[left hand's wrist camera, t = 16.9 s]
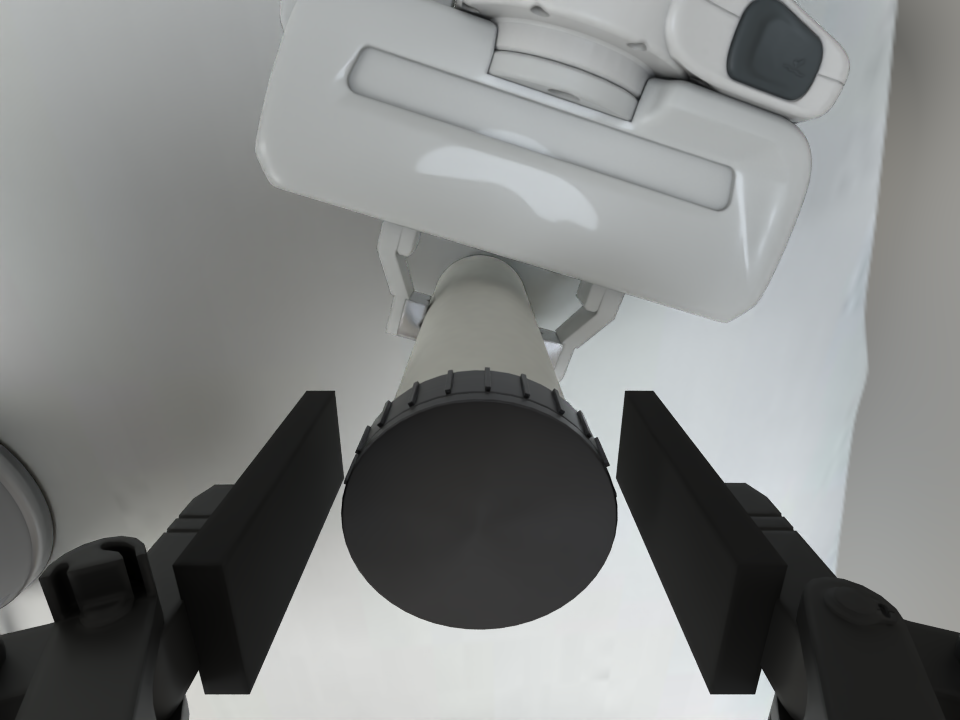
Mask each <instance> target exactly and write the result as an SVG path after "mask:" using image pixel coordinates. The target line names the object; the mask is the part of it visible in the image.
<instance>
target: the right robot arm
mask: <svg viewBox="0 0 960 720" xmlns="http://www.w3.org/2000/svg"><path fill="white" fill-rule="evenodd" d="M454 4H455V0H280V22H281V26H282V30H283V33H284V34H283V37H282V39H281V42H280V46H279V49H278V52H277V55H276V58H275V61H274V65H273V68H272V72H271V75H270V79H269V82H268V86H267V90H266V94H265V98H264V103H263V107H262V111H261V116H260V121H259V126H258V131H257V137H256V143H255V153H256V157H257V159H258V161H259V163H260V165H261V167H262V169H263V171H264V173H265V175H266V177H267V179H268V181H269V182H270V184H271V185H272V186H274V187H276V188H279V189H282V190H285V191H288V192H292V193H295V194H298V195H301V196H305V197H308V198H311V199H315V200H318V201H321V202H325V203H328V204H331V205H334V206H338V207H341V208H344V209H348V210H351V211H354V212H358V213H361V214H364V215H368V216H371V217H374V218H377V219H381V220H383V222H382V227H381V231H380V235H379V240H378V244H377V251H378V254H379V258H380V261H381V264H382V267H383V270H384V274H385V277H386V280H387V283H388V286H389V290H390V293H391V295H394V298H393V302H392V306H391V310H390V314H389V318H388V322H387V326H386V333H388V334H391V335H394V336H399V337H403V338H407V339H411V340H414V341H416V339H417V336H418V334H419V331H420V328H421V326H422V323H423V320H424V318H425V316H426V313H427V310H428V307H429V304H430V300H431V296H430V295H426V294H423V293H420V292H417V291H414V286H413V283H412V279H411V275H410V271H409V268H408V264H407V260H406V257H409V256H410V255H411V254H412V253H413V252H414V251H415V249H416V248H417V246H418V242H419V238H420V234H421V232H424V233H427V234H430V235H434V236H437V237H440V238H443V239H447V240H450V241H453V242H457V243H460V244H463V245H467V246H470V247H473V248H476V249H480V250H483V251H486V252H490V253H493V254H496V255H500V256H503V257H506V258H510V259H513V260H516V261H519V262H523V263H526V264H529V265H533V266H536V267H539V268H543V269H546V270H549V271H552V272H556V273H559V274H562V275H566V276H569V277H572V278H576V279H579V280H581V282H580V285H579V288H578V290H577V293H576V296H577V298H578V300H579V301H580V302H581V304H582V305H583V306H582V307H581V308H580V309H579V310H577V311H576V312H575V313H574V314H573V315H572V316H571V317H570V318H569V319H567V320H566V321H565V322H564V323H563V324H562V325H561V326H560V327H559V328H557V329H556V330H555V331H556V332H555V331H551V330H547V329H543V328H540V327H539V330H540V333H541V335H542V338H543V341H544V344H545V346H546V349H547V352H548V355H549V357H550V360H551V363H552V366H553V368H554V371H555V374H556V377H557V380H558V382H560V381H561V380H562V379H563V377H564V375H565V372H566V369H567V367H568V364H569V362H570V359H571V356H572V354H573V351H574V349H575V348H579V347H580V346H581V345H583V344H584V343H585V342H586V341H588V340H589V339H590V338H591V337H593V336H594V335H595V334H596V333H598V332H599V331H600V330H601V329H603V328H604V327H605V326H606V325H608V324H609V323H610V322H611V321H613V320H614V319H615V316H616V314H617V311H618V309H619V306H620V304H621V302H622V299H623V297H624V294H628V295H632V296H635V297H638V298H642V299H645V300H648V301H652V302H655V303H658V304H661V305H665V306H668V307H671V308H675V309H678V310H681V311H685V312H688V313H691V314H694V315H698V316H701V317H704V318H708V319H711V320H714V321H718V322H721V323H728V322H730V321H732V320H734V319H736V318H737V317H739V316H741V315H742V314H744V313H745V312H747V311H748V310H750V309H751V308H753V307H754V306H755V305H756V304H757V303H758V302H759V300H760V299H761V297H762V296H763V294H764V292H765V290H766V288H767V286H768V284H769V282H770V280H771V278H772V276H773V274H774V272H775V270H776V268H777V265H778V263H779V261H780V259H781V257H782V254H783V252H784V250H785V248H786V245H787V243H788V240H789V238H790V235H791V233H792V230H793V228H794V225H795V223H796V220H797V218H798V215H799V212H800V210H801V207H802V204H803V201H804V198H805V195H806V192H807V189H808V185H809V180H810V175H811V167H812V158H811V151H810V147H809V143H808V141H807V139H806V137H805V135H804V134H803V132H802V131H801V130H800V129H799V128H798V127H797V126H796V125H795V124H796V123H800V122H804V121H808V120H812V119H815V118H818V117H821V116H823V115H824V114H825V113H827V112H828V111H829V110H830V109H831V107H832V106H833V105H834V103H835V101H836V100H837V98H838V97H839V95H840V93H841V91H842V89H843V86H844V85H845V82H846V80H847V77H848V74H849V70H850V61H849V58H848V55H847V53H846V52H845V50H844V49H843V47H842V46H841V45H840V44H839V43H838V42H837V41H836V40H835V39H834V38H833V37H832V36H831V35H830V34H829V33H827V32H826V31H825V30H824V29H823V28H822V27H821V26H820V25H819V24H818V23H817V22H816V21H815V20H813V19H812V18H811V17H810V16H809V15H808V14H807V13H806V12H805V11H804V10H803V9H802V8H801V7H800V6H799V5H798V4H797V3H796V2H795V1H793V0H456V4H455V8H454Z"/></svg>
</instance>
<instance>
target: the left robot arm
mask: <svg viewBox="0 0 960 720" xmlns="http://www.w3.org/2000/svg"><path fill="white" fill-rule="evenodd" d="M343 479H344V473H343V464H342V454H341V445H340V435H339V426H338V416H337V407H336V397H335V391H306V392H305V394H304V395H303V396H302V398H301V399H300V400H299V401H298V403H297V404H296V405H295V407H294V408H293V409H292V411H291V412H290V413H289V414H288V416H287V417H286V418H285V420H284V421H283V422H282V424H281V425H280V426H279V427H278V429H277V430H276V431H275V433H274V434H273V435H272V436H271V438H270V439H269V440H268V442H267V443H266V444H265V446H264V447H263V448H262V449H261V451H260V452H259V453H258V455H257V456H256V457H255V459H254V460H253V461H252V462H251V464H250V465H249V466H248V468H247V469H246V470H245V471H244V473H243V474H242V475H241V477H240V478H239V479H238V481H237V482H236V483H235V484H234V485H214V486H212V487H211V488H209V489H208V490H206V491H205V492H203V493H201V494H200V495H198V496H197V497H195V498H194V499H193V500H192V501H191V502H190V503H189V504H188V506H187V507H186V508H185V509H184V510H183V511H182V513H181V514H180V515H179V519H175V521H174V522H173V523H172V524H171V525H170V526H169V528H168V529H167V533H163V535H162V536H161V537H160V538H159V539H158V540H157V542H156V543H155V544H154V545H153V546H152V547H151V548H150V550H149V551H148V552H146V548H145V545H144V543H142V542H141V541H139V540H138V539H137V538H133V537H126V536H118V537H109V538H103V539H100V540H96V541H93V542H90V543H87V544H84V545H82V546H80V547H78V548H76V549H74V550H72V551H70V552H68V553H66V554H64V555H63V556H61V557H60V558H59V559H57V560H56V561H55V562H53V563H52V564H50V565H49V566H48V567H47V569H46V570H45V571H44V572H43V574H42V575H41V576H40V577H39V581H40V584H41V586H42V589H43V592H44V595H45V597H46V600H47V603H48V605H49V608H50V611H51V614H52V616H53V619H54V623H50V624H46V625H42V626H38V627H34V628H29V629H25V630H21V631H16V632H12V633H8V634H3V635H0V720H189V709H188V703H187V699H186V695H185V694H186V692H187V690H188V688H189V687H190V685H191V683H192V681H193V679H194V678H195V676H196V674H197V672H198V670H199V673H200V677H201V681H202V685H203V689H204V693H205V694H250V692H251V690H252V688H253V685H254V683H255V681H256V679H257V676H258V674H259V672H260V669H261V667H262V665H263V663H264V660H265V658H266V656H267V653H268V651H269V649H270V646H271V644H272V642H273V640H274V637H275V635H276V633H277V630H278V628H279V626H280V624H281V621H282V619H283V617H284V614H285V612H286V610H287V607H288V605H289V603H290V601H291V598H292V596H293V594H294V591H295V589H296V587H297V585H298V582H299V580H300V578H301V575H302V573H303V571H304V569H305V566H306V564H307V562H308V559H309V557H310V555H311V552H312V550H313V548H314V546H315V543H316V541H317V539H318V536H319V534H320V532H321V530H322V527H323V525H324V523H325V520H326V518H327V516H328V514H329V511H330V509H331V507H332V504H333V502H334V500H335V497H336V495H337V493H338V491H339V488H340V486H341V484H342V481H343ZM616 479H617V481H618V484H619V486H620V488H621V491H622V493H623V495H624V497H625V500H626V502H627V504H628V507H629V509H630V511H631V514H632V516H633V518H634V520H635V523H636V525H637V527H638V530H639V532H640V534H641V536H642V539H643V541H644V543H645V546H646V548H647V550H648V552H649V555H650V557H651V559H652V562H653V564H654V566H655V569H656V571H657V573H658V575H659V578H660V580H661V582H662V585H663V587H664V589H665V591H666V594H667V596H668V598H669V601H670V603H671V605H672V607H673V610H674V612H675V614H676V617H677V619H678V621H679V624H680V626H681V628H682V630H683V633H684V635H685V637H686V640H687V642H688V644H689V646H690V649H691V651H692V653H693V656H694V658H695V660H696V663H697V665H698V667H699V669H700V672H701V674H702V676H703V679H704V681H705V683H706V685H707V688H708V690H709V692H710V694H755V693H756V689H757V685H758V681H759V677H760V673H761V669H762V670H763V671H764V673H765V675H766V677H767V678H768V680H769V682H770V684H771V686H772V687H773V689H774V691H775V695H774V699H773V702H772V706H771V710H770V713H769V717H768V720H960V633H958V632H954V631H949V630H945V629H941V628H936V627H932V626H928V625H923V624H919V623H915V622H910V621H907V620H904V619H903V618H902V617H901V615H900V614H899V612H898V611H897V609H896V608H895V607H894V606H892V605H891V604H890V603H889V602H888V601H887V600H885V599H884V598H883V597H882V596H880V595H879V594H877V593H875V592H873V591H871V590H870V589H868V588H866V587H864V586H862V585H860V584H857V583H854V582H851V581H848V580H845V579H840V578H837V577H836V576H835V575H834V574H833V573H832V571H831V570H830V569H829V568H828V567H827V566H826V564H825V563H824V562H823V561H822V560H821V559H820V558H819V556H818V555H817V554H816V553H815V552H814V551H813V550H812V548H811V547H810V546H809V545H808V544H807V543H806V541H805V540H804V539H803V538H802V537H801V536H800V535H799V533H798V532H797V531H794V530H793V526H792V525H791V524H790V523H789V522H788V521H787V520H786V518H785V517H782V516H781V513H780V511H779V510H778V509H777V508H776V507H775V506H774V505H773V503H772V502H771V501H770V500H769V499H768V498H767V497H766V496H765V495H763V494H761V493H760V492H758V491H757V490H755V489H754V488H752V487H751V486H749V485H748V484H746V483H724V482H723V481H722V479H721V478H720V477H719V475H718V474H717V473H716V471H715V470H714V469H713V468H712V466H711V465H710V464H709V462H708V461H707V460H706V459H705V457H704V456H703V455H702V453H701V452H700V451H699V449H698V448H697V447H696V446H695V444H694V443H693V442H692V440H691V439H690V438H689V436H688V435H687V434H686V433H685V431H684V430H683V429H682V427H681V426H680V425H679V424H678V422H677V421H676V420H675V418H674V417H673V416H672V414H671V413H670V412H669V411H668V409H667V408H666V407H665V405H664V404H663V403H662V401H661V400H660V399H659V398H658V396H657V395H656V394H655V392H654V391H625V397H624V407H623V416H622V426H621V435H620V445H619V454H618V464H617V473H616ZM52 546H53V525H52V519H51V515H50V512H49V508H48V505H47V503H46V501H45V498H44V496H43V494H42V492H41V490H40V489H39V487H38V485H37V484H36V482H35V481H34V479H33V478H32V476H31V475H30V474H29V472H28V471H27V470H26V469H25V467H24V466H23V465H22V464H21V463H20V462H19V461H18V460H17V459H16V457H14V456H13V455H12V454H11V453H10V452H9V451H8V450H7V449H6V448H5V447H4V446H2V445H1V444H0V609H1V608H2V607H4V606H6V605H7V604H8V603H10V602H11V601H12V600H14V599H15V598H16V597H17V596H18V595H19V594H20V593H21V592H22V591H23V590H24V589H25V588H26V587H27V586H29V585H30V584H31V583H32V582H33V581H34V580H35V579H36V578H37V577H38V576H39V575H40V573H41V572H42V571H43V569H44V568H45V566H46V564H47V562H48V560H49V557H50V554H51V551H52Z"/></svg>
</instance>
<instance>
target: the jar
mask: <svg viewBox="0 0 960 720" xmlns="http://www.w3.org/2000/svg"><path fill="white" fill-rule="evenodd" d="M485 367H490V371H498V372H504V373H510V374H514V375H517V376H521V374H525V375H526V377H527V379H530V380H532V381H534V382H537V383H539V384H541V385H543V386H545V387H547V388H548V389H550V390H553V389H554V388H555V389H556V390H558V392H559V395H560V397H562V398H563V399H564V396H563V393H562V391H561V388H560V385H559V382H558V380H557V377H556V374H555V371H554V368H553V366H552V363H551V360H550V357H549V355H548V352H547V349H546V346H545V344H544V341H543V338H542V335H541V333H540V330H539V327H538V324H537V322H536V319H535V316H534V313H533V311H532V308H531V305H530V302H529V300H528V297H527V294H526V291H525V289H524V286H523V283H522V281H521V279H520V277H519V276H518V274H517V273H516V272H515V271H514V269H513V268H512V267H510V266H509V265H508V264H507V263H505V262H503V261H502V260H500V259H497V258H494V257H491V256H485V255H475V256H469V257H465V258H463V259H460V260H458V261H456V262H455V263H453V264H452V265H450V266H449V267H448V268H447V269H446V270H445V271H444V273H443V274H442V275H441V277H440V279H439V280H438V283H437V285H436V288H435V290H434V293H433V296H432V298H431V301H430V304H429V307H428V310H427V313H426V316H425V318H424V320H423V323H422V326H421V328H420V331H419V334H418V336H417V339H416V342H415V345H414V347H413V350H412V353H411V356H410V358H409V361H408V364H407V366H406V369H405V372H404V375H403V377H402V380H401V383H400V385H399V388H398V391H397V394H396V396H395V399H396V398H397V397H398V396H400V395H401V394H403V393H404V392H406V391H407V390H409V389H410V388H412V387H413V384H414V383H415V382H417V381H418V382H419V384H420V383H422V382H424V381H427V380H429V379H432V378H435V377H438V376H441V375H445V374H447V373H448V370H453V373H454V372H460V371H471V370H485ZM395 399H394V400H395ZM564 400H565V399H564Z"/></svg>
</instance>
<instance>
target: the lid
mask: <svg viewBox="0 0 960 720" xmlns="http://www.w3.org/2000/svg"><path fill="white" fill-rule="evenodd" d="M355 453H356V455H355V457H354V459H353V462H352V464H351V466H350V469H349V471H348V473H347V475H346V478H345V480H344V484H346V486H345V490H344V494H343V498H342V509H341V517H342V529H343V533H344V538H345V542H346V545H347V548H348V550H349V553H350V555H351V558H352V559H353V561H354V563H355V565H356V566H357V568H358V570H359V571H360V573H361V574H362V575H363V577H364V578H365V579H366V580H367V582H368V583H369V584H370V585H371V586H372V587H373V588H374V589H375V590H376V591H377V592H378V593H379V594H380V595H382V596H383V597H384V598H385V599H387V600H388V601H389V602H391V603H392V604H394V605H395V606H397V607H399V608H400V609H402V610H404V611H405V612H407V613H410V614H412V615H414V616H416V617H418V618H421V619H424V620H426V621H429V622H432V623H435V624H440V625H444V626H448V627H454V628H462V629H497V628H504V627H510V626H516V625H519V624H523V623H526V622H530V621H533V620H536V619H538V618H541V617H543V616H546V615H548V614H550V613H551V612H553V611H555V610H557V609H559V608H561V607H562V606H564V605H565V604H567V603H568V602H570V601H571V600H572V599H574V598H575V597H576V596H577V595H578V594H580V593H581V592H582V591H583V590H584V589H585V588H586V587H587V586H588V585H589V584H590V583H591V581H592V580H593V579H594V578H595V577H596V576H597V574H598V572H599V571H600V569H601V568H602V566H603V565H604V563H605V561H606V559H607V557H608V555H609V553H610V551H611V548H612V544H613V541H614V538H615V534H616V527H617V500H616V497H617V495H616V491H615V489H614V486H613V483H612V480H611V477H610V475H609V472H608V470H607V468H606V467H608V466H610V465H609V462H608V460H607V458H606V455H605V453H604V451H603V448H602V446H601V444H600V441H599V439H598V437H597V438H594V437H593V435H592V433H591V431H590V429H589V427H588V424H587V422H586V420H585V417H584V415H583V413H582V412H581V410H580V411H578V412H577V411H576V410H575V409H574V408H573V407H572V406H571V405H570V404H569V403H568V402H567V401H565V400H564V399H563V398H562V397H560V395H559V392H558V390H556V389H555V388H554V389H553V390H550V389H548V388H547V387H545V386H543V385H541V384H539V383H537V382H534V381H532V380H530V379H527V377H526V375H525V374H521V376H517V375H514V374H510V373H504V372H498V371H490V367H485V370H471V371H460V372H454V373H453V370H448V373H447V374H445V375H441V376H438V377H435V378H432V379H429V380H427V381H424V382H422V383H420V384H419V382H418V381H417V382H415V383H414V384H413V387H412V388H410V389H409V390H407V391H406V392H404V393H403V394H401V395H400V396H398V397H397V398H396V399H395V400H394V401H393V402H390V401H389V400H388V401H387V402H386V403H385V406H384V408H383V411H382V412H381V414H380V415H379V416H378V417H377V418H376V420H375V421H374V423H373V424H372V426H371V427H370V426H367V427H366V429H365V431H364V433H363V436H362V438H361V440H360V443H359V445H358V447H357V449H356V452H355Z"/></svg>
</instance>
